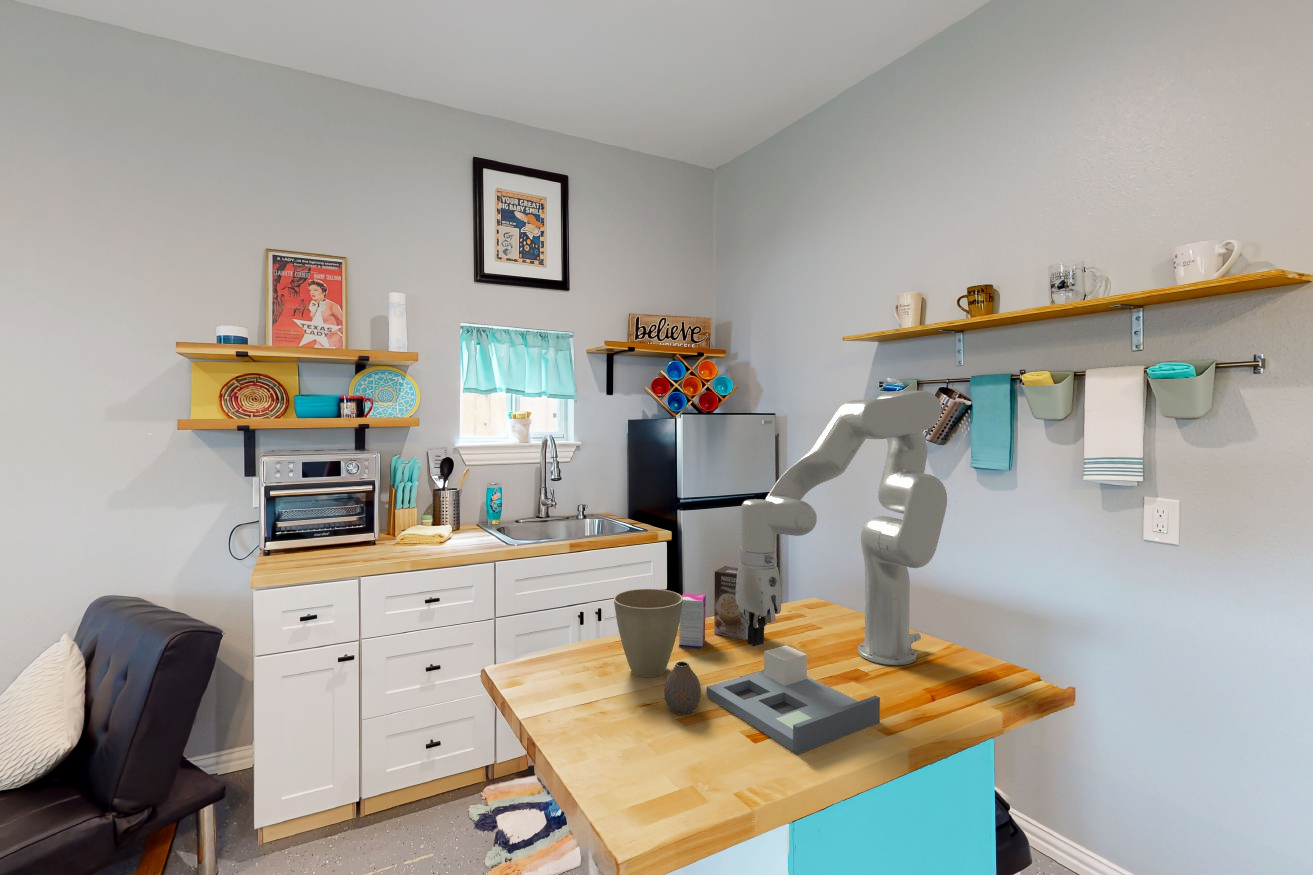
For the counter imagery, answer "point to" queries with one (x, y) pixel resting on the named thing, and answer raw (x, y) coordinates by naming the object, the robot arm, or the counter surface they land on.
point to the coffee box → (728, 605)
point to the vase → (682, 689)
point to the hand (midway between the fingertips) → (755, 643)
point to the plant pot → (648, 628)
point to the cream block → (785, 665)
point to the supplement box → (692, 621)
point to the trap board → (795, 709)
